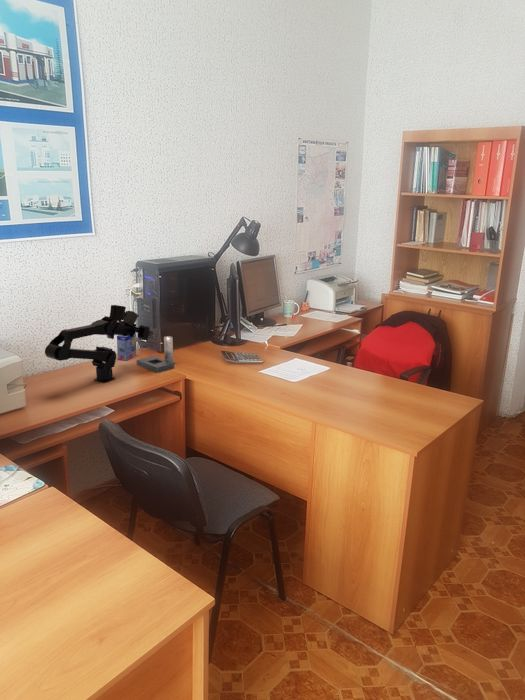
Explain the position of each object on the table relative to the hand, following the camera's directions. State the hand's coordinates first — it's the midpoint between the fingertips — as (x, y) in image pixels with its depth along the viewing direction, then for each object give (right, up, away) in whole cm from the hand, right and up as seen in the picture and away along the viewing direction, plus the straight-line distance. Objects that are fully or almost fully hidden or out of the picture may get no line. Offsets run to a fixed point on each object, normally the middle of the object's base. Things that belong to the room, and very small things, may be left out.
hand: (145, 331), depth 261 cm
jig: (+4, -17, +3) cm, 17 cm away
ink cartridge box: (-13, -13, +16) cm, 24 cm away
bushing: (+10, -15, +9) cm, 20 cm away
